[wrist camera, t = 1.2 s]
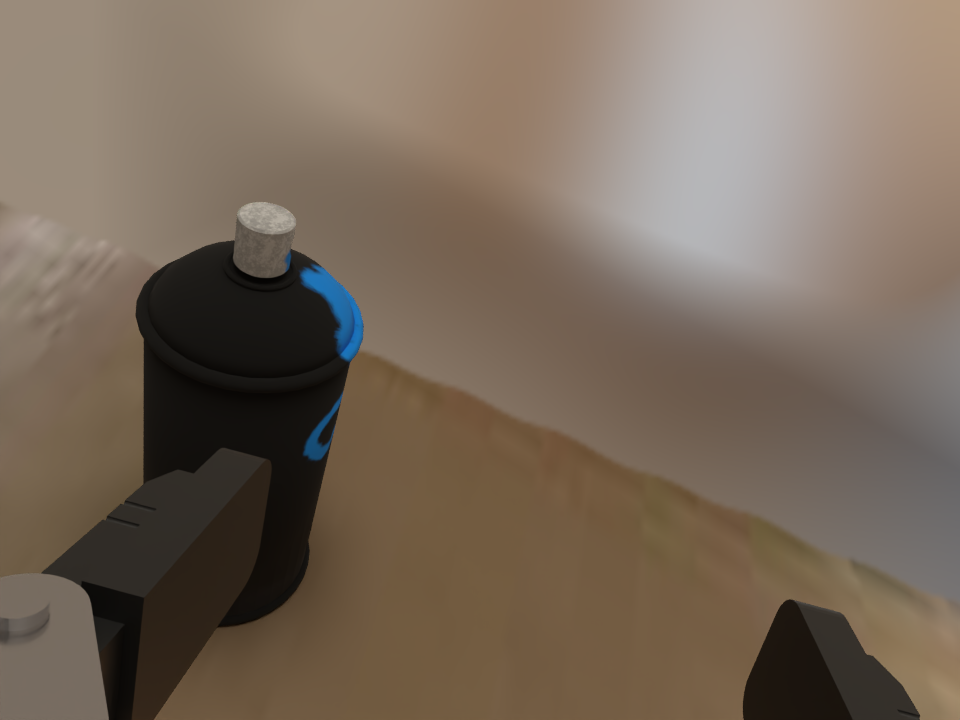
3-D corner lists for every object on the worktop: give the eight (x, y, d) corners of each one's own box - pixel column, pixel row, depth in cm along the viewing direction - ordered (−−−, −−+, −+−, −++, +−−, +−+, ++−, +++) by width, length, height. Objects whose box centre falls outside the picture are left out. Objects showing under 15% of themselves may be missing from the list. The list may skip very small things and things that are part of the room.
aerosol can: (142, 643, 34) (142, 290, 21) (133, 497, 39) (129, 145, 26) (323, 610, 37) (414, 291, 25) (292, 480, 43) (354, 164, 30)
